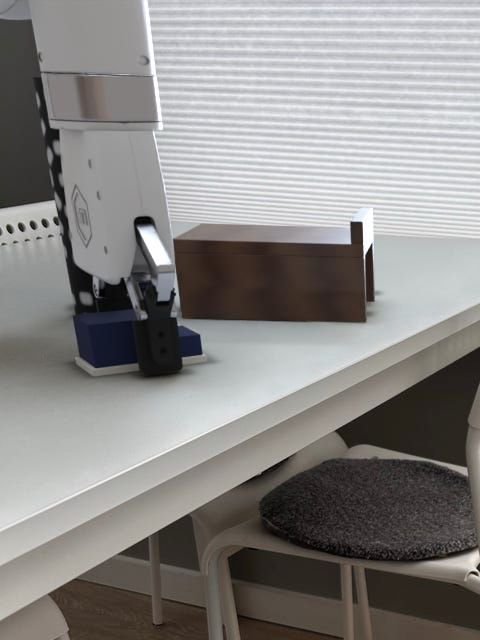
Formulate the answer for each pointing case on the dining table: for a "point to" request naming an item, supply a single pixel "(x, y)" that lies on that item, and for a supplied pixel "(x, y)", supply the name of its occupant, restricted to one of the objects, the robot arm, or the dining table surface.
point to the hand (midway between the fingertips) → (142, 358)
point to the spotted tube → (65, 212)
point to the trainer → (121, 343)
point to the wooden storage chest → (277, 271)
